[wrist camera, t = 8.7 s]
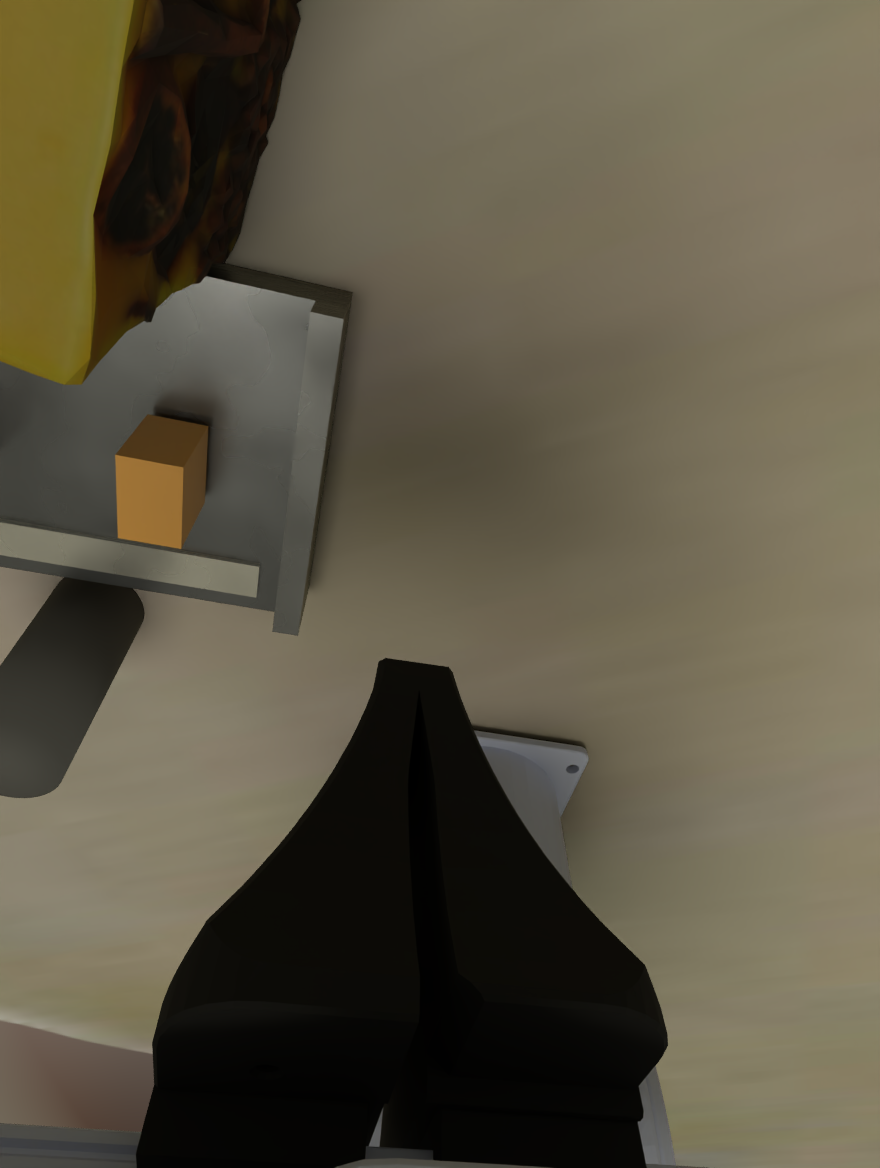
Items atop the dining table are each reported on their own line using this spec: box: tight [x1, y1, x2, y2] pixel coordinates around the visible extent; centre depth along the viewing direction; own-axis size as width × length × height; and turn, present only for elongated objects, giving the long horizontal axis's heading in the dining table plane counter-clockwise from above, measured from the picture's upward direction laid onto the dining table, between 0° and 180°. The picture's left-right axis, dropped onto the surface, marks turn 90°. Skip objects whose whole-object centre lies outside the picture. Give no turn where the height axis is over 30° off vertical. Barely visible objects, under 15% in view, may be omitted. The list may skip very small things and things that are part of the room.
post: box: [0, 577, 144, 798], centre depth 23 cm, size 3×3×7 cm
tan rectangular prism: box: [115, 414, 208, 549], centre depth 20 cm, size 2×2×2 cm
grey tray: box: [0, 263, 352, 636], centre depth 21 cm, size 10×14×2 cm
